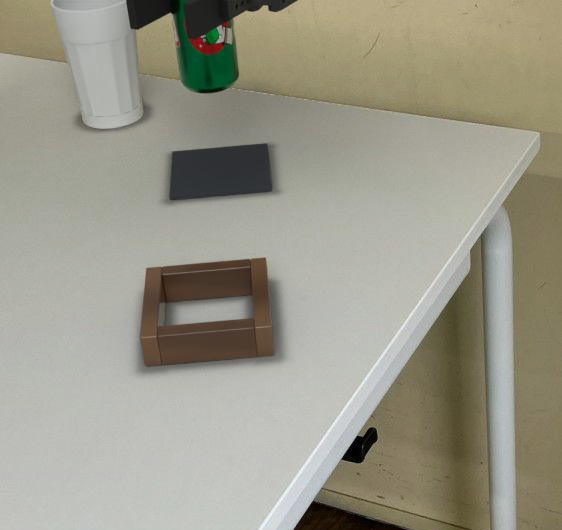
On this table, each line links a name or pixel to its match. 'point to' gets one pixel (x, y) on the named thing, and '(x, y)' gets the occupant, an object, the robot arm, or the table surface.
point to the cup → (101, 60)
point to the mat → (220, 171)
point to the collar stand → (207, 335)
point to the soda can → (205, 55)
